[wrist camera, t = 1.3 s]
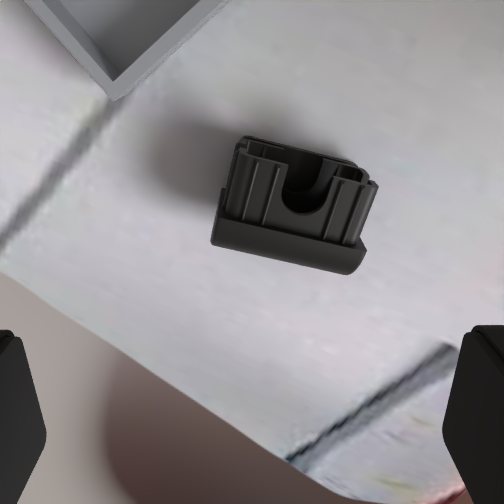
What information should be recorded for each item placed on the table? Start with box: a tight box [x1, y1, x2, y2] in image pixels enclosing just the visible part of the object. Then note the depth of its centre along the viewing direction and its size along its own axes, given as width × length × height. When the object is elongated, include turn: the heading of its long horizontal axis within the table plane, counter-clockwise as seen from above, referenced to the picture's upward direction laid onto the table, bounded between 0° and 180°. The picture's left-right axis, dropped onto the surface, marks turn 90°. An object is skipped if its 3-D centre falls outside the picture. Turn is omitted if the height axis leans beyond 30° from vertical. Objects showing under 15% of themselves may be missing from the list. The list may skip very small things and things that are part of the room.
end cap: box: [210, 136, 379, 275], centre depth 32 cm, size 10×7×7 cm
